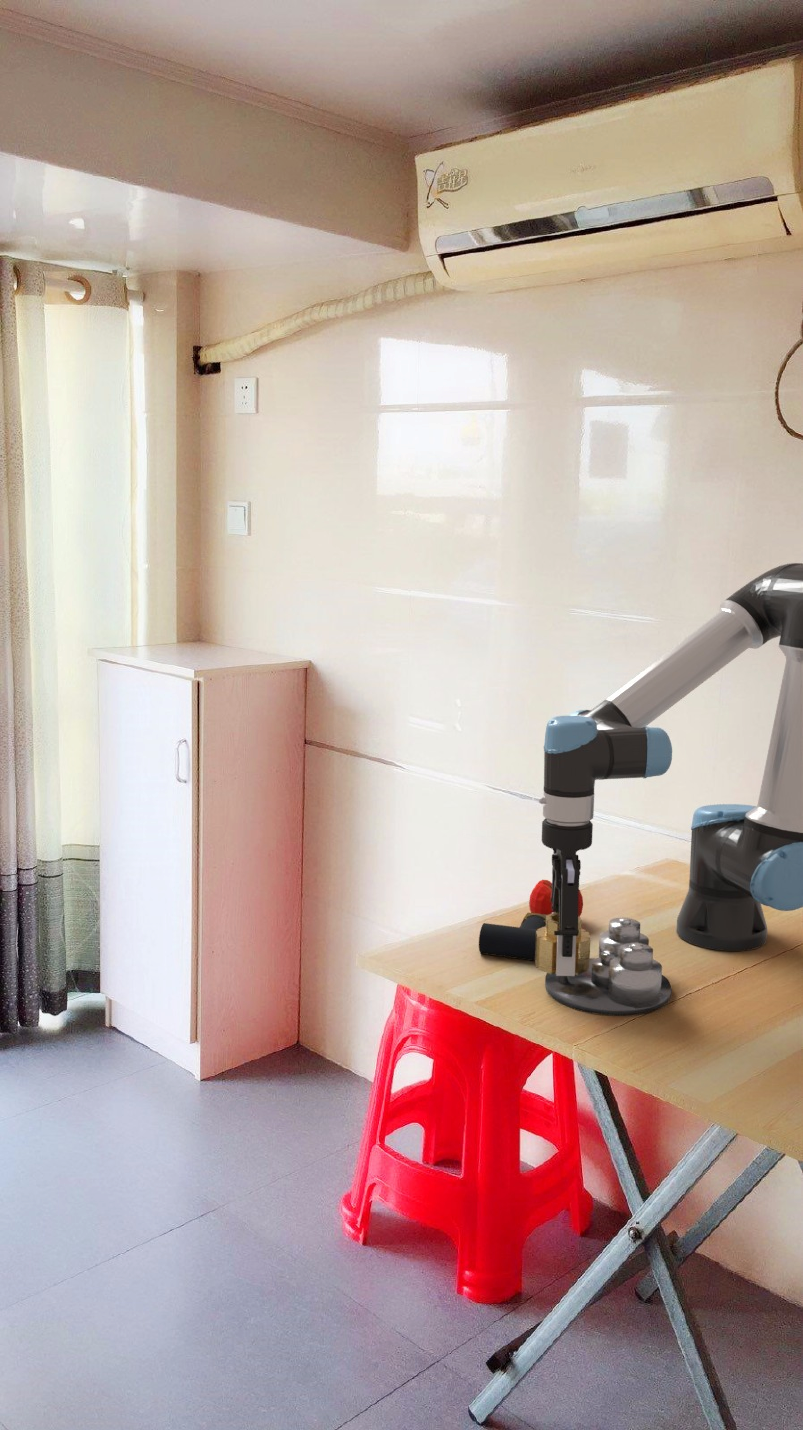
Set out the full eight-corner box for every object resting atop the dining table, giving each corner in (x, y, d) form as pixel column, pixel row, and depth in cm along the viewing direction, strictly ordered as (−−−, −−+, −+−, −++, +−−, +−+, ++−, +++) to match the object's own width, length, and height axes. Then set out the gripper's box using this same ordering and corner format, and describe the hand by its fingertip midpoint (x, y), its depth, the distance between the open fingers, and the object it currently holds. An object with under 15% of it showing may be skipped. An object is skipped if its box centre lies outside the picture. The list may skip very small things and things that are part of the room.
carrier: (658, 966, 188) (660, 911, 186) (682, 1017, 169) (685, 956, 167) (540, 964, 188) (541, 909, 186) (551, 1014, 169) (553, 953, 168)
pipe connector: (496, 905, 201) (582, 915, 196) (496, 934, 202) (581, 945, 197) (479, 928, 190) (569, 939, 186) (478, 959, 191) (568, 971, 187)
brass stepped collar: (584, 956, 182) (586, 910, 181) (591, 976, 174) (593, 928, 173) (533, 955, 182) (535, 909, 181) (537, 975, 174) (539, 927, 173)
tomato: (524, 928, 204) (526, 887, 203) (535, 912, 213) (536, 872, 211) (577, 934, 202) (579, 893, 200) (586, 918, 210) (587, 878, 209)
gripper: (536, 802, 184) (532, 938, 188) (548, 838, 164) (543, 991, 168) (584, 803, 184) (578, 939, 188) (602, 839, 164) (595, 992, 168)
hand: (562, 963), depth 178 cm, fingers closed on brass stepped collar, 8 cm apart
